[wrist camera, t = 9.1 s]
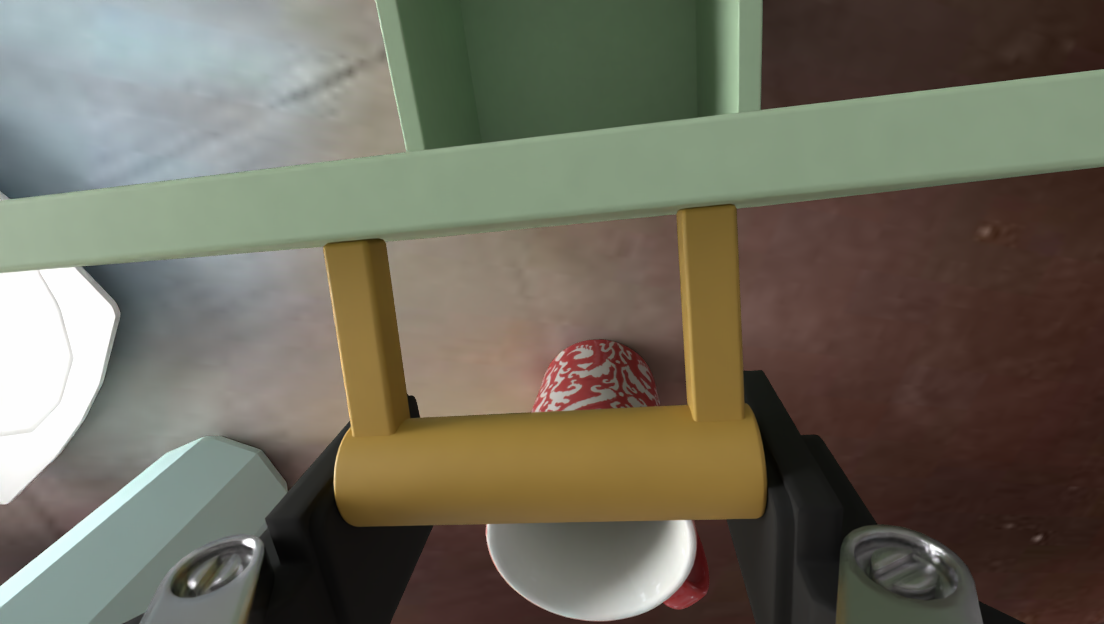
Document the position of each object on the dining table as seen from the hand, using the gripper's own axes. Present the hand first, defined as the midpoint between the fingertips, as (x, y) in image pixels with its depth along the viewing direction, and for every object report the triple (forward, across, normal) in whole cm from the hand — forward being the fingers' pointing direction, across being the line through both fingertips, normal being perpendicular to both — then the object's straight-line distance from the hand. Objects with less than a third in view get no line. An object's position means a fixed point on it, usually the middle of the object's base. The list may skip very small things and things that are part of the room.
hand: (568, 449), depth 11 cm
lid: (+4, 0, -5) cm, 6 cm away
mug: (+23, 0, +12) cm, 26 cm away
